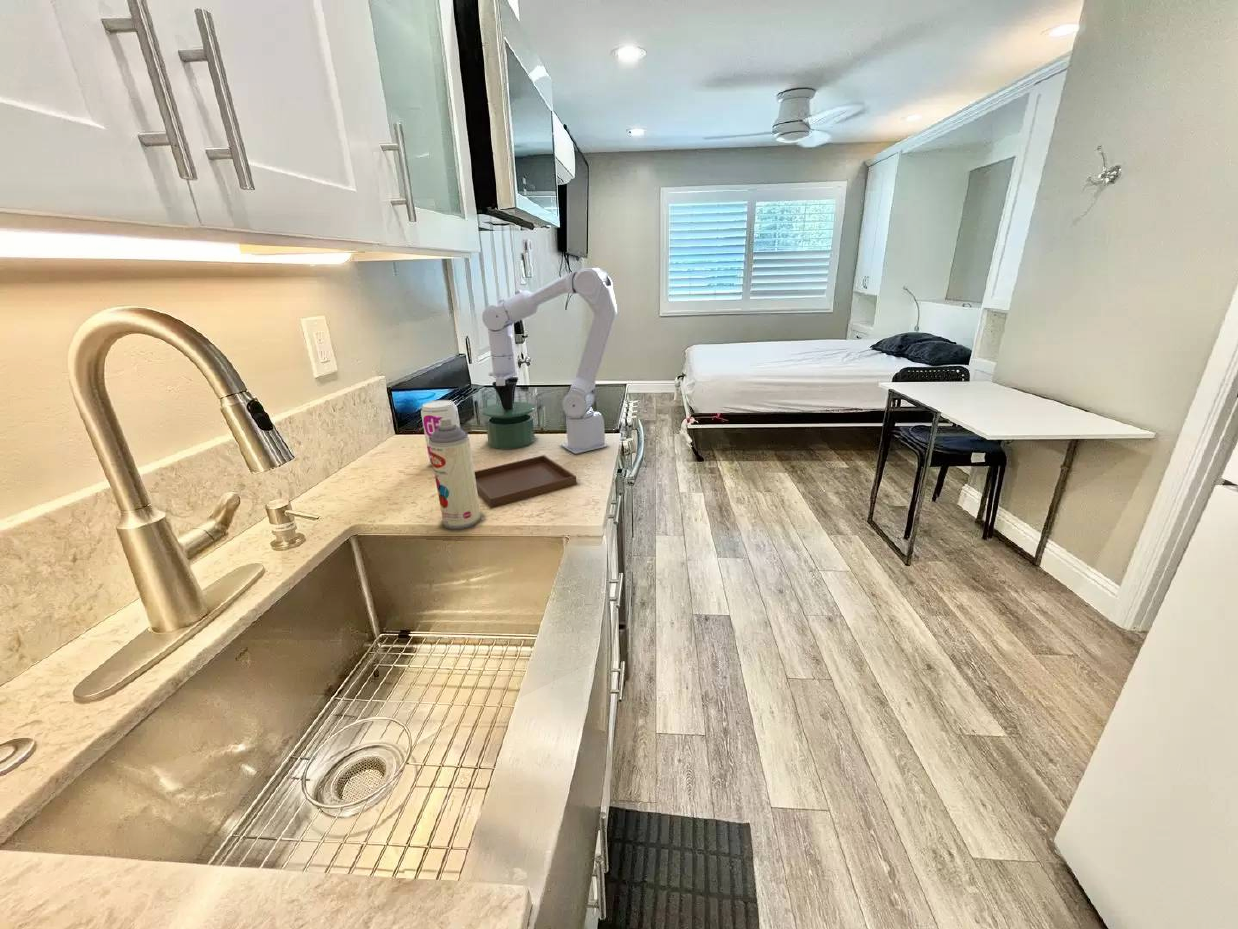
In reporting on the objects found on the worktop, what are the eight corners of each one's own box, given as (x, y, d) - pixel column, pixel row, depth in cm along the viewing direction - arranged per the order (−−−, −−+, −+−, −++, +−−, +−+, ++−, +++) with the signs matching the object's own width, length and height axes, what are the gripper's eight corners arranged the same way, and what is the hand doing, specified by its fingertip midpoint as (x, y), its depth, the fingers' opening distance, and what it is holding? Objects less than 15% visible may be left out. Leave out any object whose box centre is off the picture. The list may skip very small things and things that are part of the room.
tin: (524, 431, 143) (521, 409, 140) (542, 442, 133) (540, 419, 131) (482, 439, 136) (479, 417, 134) (498, 452, 127) (495, 428, 124)
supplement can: (455, 470, 116) (445, 408, 110) (423, 468, 118) (412, 407, 112) (471, 457, 123) (462, 399, 118) (441, 456, 125) (431, 398, 119)
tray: (544, 462, 119) (544, 454, 119) (576, 484, 107) (576, 476, 106) (466, 481, 110) (465, 473, 109) (491, 507, 97) (490, 499, 96)
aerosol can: (438, 519, 93) (419, 418, 86) (472, 508, 97) (457, 411, 89) (450, 533, 88) (432, 427, 81) (486, 521, 92) (472, 419, 84)
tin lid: (523, 403, 138) (521, 388, 136) (543, 413, 127) (541, 397, 125) (476, 411, 131) (474, 395, 129) (493, 423, 120) (491, 405, 119)
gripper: (492, 350, 130) (498, 400, 135) (480, 360, 117) (487, 415, 122) (518, 349, 130) (523, 399, 135) (510, 359, 117) (516, 414, 122)
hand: (508, 407), depth 128 cm, fingers closed on tin lid, 2 cm apart
